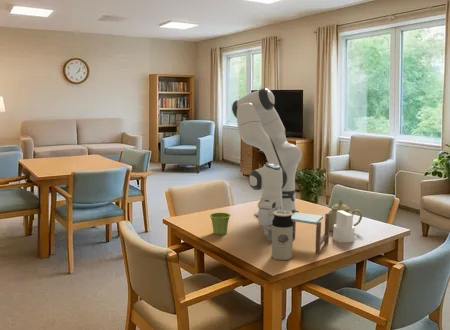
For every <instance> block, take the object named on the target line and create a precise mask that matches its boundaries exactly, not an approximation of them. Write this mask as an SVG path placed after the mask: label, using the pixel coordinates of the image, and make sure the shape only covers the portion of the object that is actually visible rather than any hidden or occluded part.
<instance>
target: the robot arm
mask: <svg viewBox="0 0 450 330" xmlns="http://www.w3.org/2000/svg"><path fill="white" fill-rule="evenodd" d="M275 98H276V97H275V95H274V93H273V92H272V90H271V89H269V88H267V87H265V88H260V89H259V90H254V91H253V92H252V91H251V92H250V93H248V94H246V95H244V96H243V97H240V98H237V99H236V100H235V101H234V102H232V104H231V111H232V114H233V116H234V117H235V118H236V122H237V127H238V129H237V130H238V133H239V134H238V135H239V137H240V139H241V140H242V141H243V142H244V143H245V144H247V145H248V146H252V147H254V148H257V149H259V150H260V151H262V152H263V153H264V155H265V157H266V160H267V163H265V164H264V165H263V166H262V167H260V168H257V169H253V170H251V172H250V173H249V175H248V185H249V186H250V188H251V189H253V190H254V191H261V197H260V200H259V201H258V203H257V208H258V209H257V210H255V212H254V216H258V220H257V221H258V225H259V226H260V227H263V231H264V232H263V233H264V235H265V236H266V235H268V234H269V228H268V227H270V226H271V225H272V220H273V218H274V214H273V212H275V211H281V210H283V211H290V212H292V209H295V210H296V211H297V209H296V202H295V201H296V197H297V196H296V193H297V192H296V188H295V187H296V186H295V185H296V175H297V174H296V173H297V169H298V165H299V163H300V162H301V161H302V157H303V153H302V150H301V149H300V147H298V146H297V145H296V144H293V143H289V141H288V140H287V137H286V127H285V126H284V124H283V122H282V120H281V118H280V115H279V113H278V112H277V110H276V109H275V104H276V99H275Z"/></svg>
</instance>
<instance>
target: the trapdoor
mask: <svg viewBox="0 0 450 330" xmlns="http://www.w3.org/2000/svg"><path fill="white" fill-rule="evenodd" d="M291 218H292V220H293V221H295V222H296V223H301V224H307V225H308V224H309V225H315V226H316V222H317V221H319V222H321V221H322V220H323V218H324V215H319V214H313V213H312V214H311V213H304V212H299V213H298V212H295V213H292V216H291Z"/></svg>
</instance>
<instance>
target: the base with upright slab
mask: <svg viewBox="0 0 450 330" xmlns="http://www.w3.org/2000/svg"><path fill="white" fill-rule="evenodd" d="M353 217H354V215H352V214H349V213H347V212H345V211H343V210H339V211H337V217H336V224H334V230H333V231H332V232H333V235H332V236H333V237H332V238H333V239H332V240H333V241H336V242H340V243H352V242H354V241H355V227H356V226H353V225H354V224H353V219H354V218H353Z"/></svg>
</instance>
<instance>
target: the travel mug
mask: <svg viewBox="0 0 450 330" xmlns="http://www.w3.org/2000/svg"><path fill="white" fill-rule="evenodd" d="M273 214H274V218H273V220H272V223H271V226H272V241H271V257H272V258H273V259H275V260H276V261H277V260H279V261H288V260H291V259H292V258H293V240H294V239H293V220H292V218H291V216H292V212H290V211H283V210H281V211H275V212H273Z"/></svg>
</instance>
